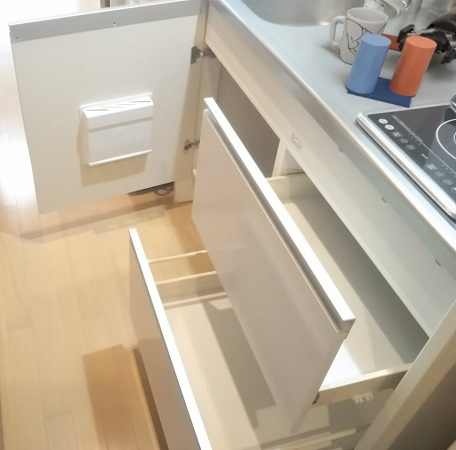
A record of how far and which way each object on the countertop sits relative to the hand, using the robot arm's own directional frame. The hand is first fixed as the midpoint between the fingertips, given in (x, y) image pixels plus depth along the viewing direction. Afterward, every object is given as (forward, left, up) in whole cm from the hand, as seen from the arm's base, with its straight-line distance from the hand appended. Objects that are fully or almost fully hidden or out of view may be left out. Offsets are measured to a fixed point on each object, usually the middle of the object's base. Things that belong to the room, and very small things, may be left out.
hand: (422, 53), depth 105 cm
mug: (+14, -6, -7) cm, 17 cm away
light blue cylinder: (+9, +9, -6) cm, 14 cm away
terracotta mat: (+8, -19, -6) cm, 22 cm away
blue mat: (+5, +7, -6) cm, 11 cm away
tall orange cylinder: (+1, +5, -6) cm, 8 cm away
